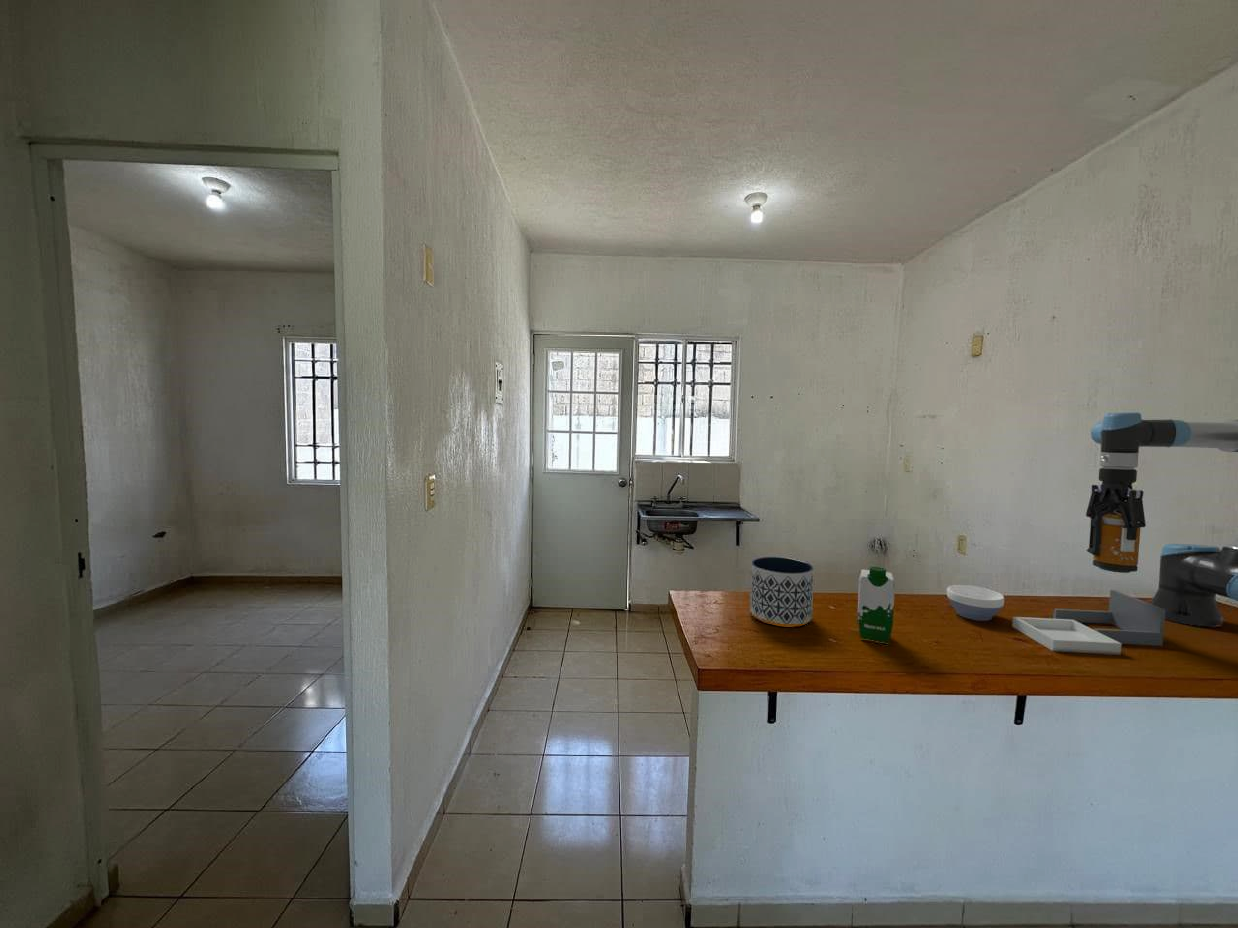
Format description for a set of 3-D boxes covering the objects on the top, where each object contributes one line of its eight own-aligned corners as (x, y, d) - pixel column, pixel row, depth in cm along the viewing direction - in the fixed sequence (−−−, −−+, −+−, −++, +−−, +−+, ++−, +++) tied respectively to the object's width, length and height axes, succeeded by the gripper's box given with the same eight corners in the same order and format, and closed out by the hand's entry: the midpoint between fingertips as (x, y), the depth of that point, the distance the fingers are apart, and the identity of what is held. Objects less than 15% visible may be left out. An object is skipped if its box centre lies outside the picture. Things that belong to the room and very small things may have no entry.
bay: (1111, 622, 149) (1114, 590, 149) (1162, 645, 134) (1165, 609, 133) (1053, 619, 151) (1055, 587, 151) (1096, 642, 136) (1099, 606, 135)
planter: (769, 602, 165) (770, 553, 164) (822, 617, 152) (824, 565, 151) (738, 616, 153) (739, 563, 152) (793, 634, 140) (794, 577, 139)
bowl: (951, 620, 150) (953, 596, 150) (941, 605, 164) (942, 582, 163) (1010, 628, 145) (1012, 603, 144) (994, 611, 158) (995, 588, 158)
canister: (1146, 575, 136) (1152, 502, 134) (1098, 572, 138) (1104, 501, 136) (1120, 566, 144) (1125, 498, 143) (1076, 564, 147) (1080, 497, 145)
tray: (1072, 629, 144) (1073, 619, 144) (1120, 654, 128) (1121, 643, 128) (1012, 626, 146) (1012, 616, 146) (1052, 650, 130) (1053, 639, 130)
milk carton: (856, 640, 136) (860, 569, 134) (856, 628, 144) (859, 561, 142) (893, 646, 132) (897, 573, 130) (890, 634, 140) (894, 564, 139)
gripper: (1072, 464, 150) (1067, 538, 152) (1138, 471, 129) (1131, 556, 130) (1100, 465, 149) (1095, 538, 151) (1170, 471, 128) (1163, 557, 129)
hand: (1111, 546), depth 141 cm, fingers closed on canister, 9 cm apart
